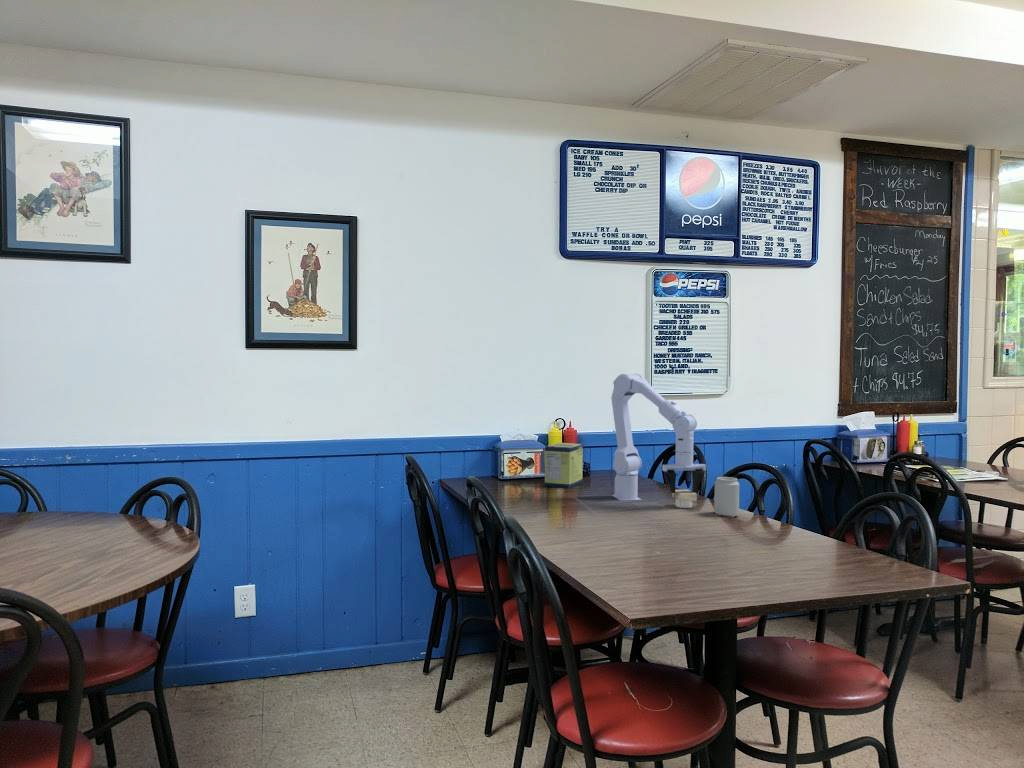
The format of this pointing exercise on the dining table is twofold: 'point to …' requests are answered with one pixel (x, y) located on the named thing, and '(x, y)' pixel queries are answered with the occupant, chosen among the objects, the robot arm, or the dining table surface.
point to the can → (726, 496)
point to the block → (684, 495)
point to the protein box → (563, 465)
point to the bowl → (683, 504)
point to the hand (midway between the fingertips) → (683, 492)
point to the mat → (648, 506)
